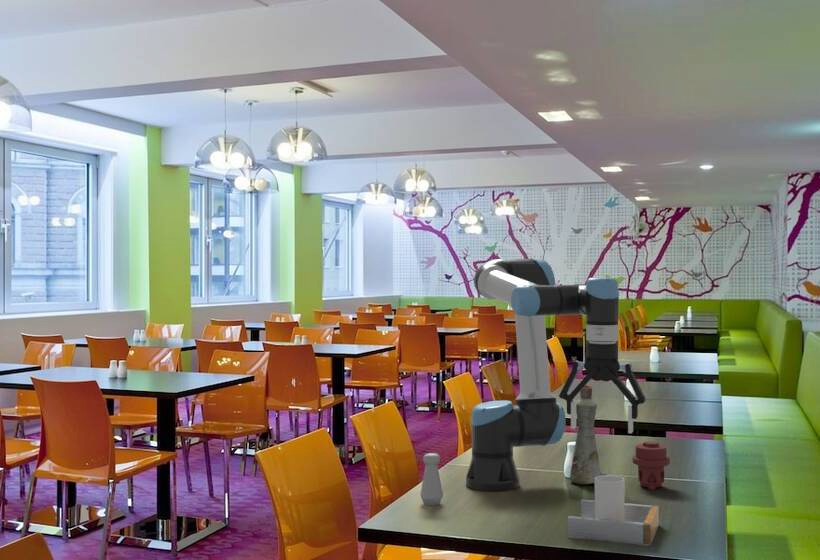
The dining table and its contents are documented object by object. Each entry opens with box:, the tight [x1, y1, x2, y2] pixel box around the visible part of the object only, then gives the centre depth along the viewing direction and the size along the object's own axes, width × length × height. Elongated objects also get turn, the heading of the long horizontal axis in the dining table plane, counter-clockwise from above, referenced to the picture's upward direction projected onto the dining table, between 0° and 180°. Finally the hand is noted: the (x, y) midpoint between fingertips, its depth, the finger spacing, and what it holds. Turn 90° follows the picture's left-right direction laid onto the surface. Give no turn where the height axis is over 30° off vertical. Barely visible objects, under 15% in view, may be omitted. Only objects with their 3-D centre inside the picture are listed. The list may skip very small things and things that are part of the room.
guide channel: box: [567, 499, 660, 547], centre depth 198 cm, size 18×17×4 cm
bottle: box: [569, 384, 602, 486], centre depth 246 cm, size 9×9×28 cm
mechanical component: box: [632, 440, 671, 491], centre depth 240 cm, size 12×10×10 cm
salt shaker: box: [420, 452, 444, 507], centre depth 224 cm, size 6×6×13 cm
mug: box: [594, 474, 626, 521], centre depth 199 cm, size 10×7×12 cm, turn 168°
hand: (601, 430), depth 207 cm, fingers open, 13 cm apart
